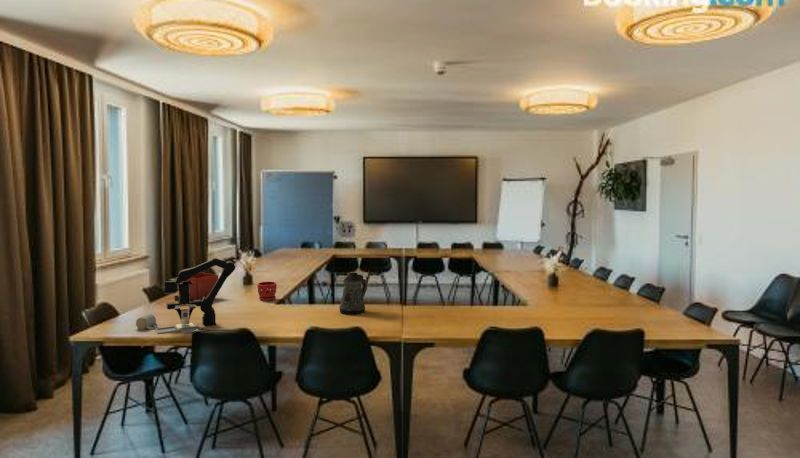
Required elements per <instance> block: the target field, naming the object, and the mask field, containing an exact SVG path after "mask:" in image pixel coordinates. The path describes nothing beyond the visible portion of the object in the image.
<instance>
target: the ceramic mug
mask: <svg viewBox="0 0 800 458" xmlns="http://www.w3.org/2000/svg"><path fill="white" fill-rule="evenodd" d="M135 326H136V328H137V329H138V330H147V329H148V330H156V329H155V328H159V327H158V323H157V319H156V317H155V315H154V314H152V313H145V315H142V316H140V317H139V318H136V320H135Z"/></svg>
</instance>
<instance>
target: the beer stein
mask: <svg viewBox="0 0 800 458" xmlns="http://www.w3.org/2000/svg"><path fill="white" fill-rule="evenodd" d="M342 281H343V289H342V295H341V300H340V304H339V307H338V308H339V312H340V315H341V314H342V315H345V316H358V315H357V314H359V315H362V313H363V314H364V313H365V312H366V305H365V301H364V297H365V295H366V292H367V290H368V283H367V280H366V278H364V276H363V275H361V274H358V273H357V272H350V273H349V275H347V276H346V277H345V278H344V279H343V280H342Z"/></svg>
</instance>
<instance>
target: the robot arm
mask: <svg viewBox="0 0 800 458" xmlns="http://www.w3.org/2000/svg"><path fill="white" fill-rule="evenodd" d="M213 267H219V268H221V273H220V275H219V276H218V280H217V282H216V283H215V285H214V286H213V288H212V290H211V291H210V293H209V295H208V296H207V297H206V298H205V297H203V299H202V300H193V301H191V299H190V288H189V284H193V282H191V281H190V280H189V281H186V280H188V279H190V278H191V277H193V276H194V275H195V274H197V273H203V272H204V271H205V270H208V269H211V268H213ZM235 270H236V265H235V264H234V262H232V261H231V260H228V261H226V260H223V259H220V258H217V257H213V258H212V259H209V260H207V261H205V262H203V263H200V264H198V265H195V266H194V267H189V268H188V267H187V268H185V269H181V270H180V271H179V272H178V274H177V278H176V279H175V280H173V281H170V280H169V281H165V280H164V289H163V290H164V294H166V295H167V294H176V292H178V295H174V296H173V297H174V298H173V299H174V301H173V302H166V304H165V307H166V310H175V311H176V312H177V314H178V316H179V319H180V321H181V309H182V308H180V307H187V306H188V310H189V320H190V319H191V316H192V313H193V311H194V309H196V307H199V309H200V311H201V312H202V317H201V319H202V320H201V321H202V322H201V323H202V325H204V326H208V327H209V326H215V325H217V322H216V311H215V310H216V309H215V308H214V307H213V304H214V300H215V299H216V297H217V295H218V293H219V292H220V290H221V288H222V286H224V283H225V282H226V280H227V279H228V277H230V276H231V275H232V273H233V272H234V271H235ZM182 281H183V283H181V282H182ZM175 302H177V303H175Z"/></svg>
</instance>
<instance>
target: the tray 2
mask: <svg viewBox="0 0 800 458" xmlns="http://www.w3.org/2000/svg"><path fill="white" fill-rule="evenodd" d="M196 329H202V328H201V326H199V325H197V326H196V325H194V327H185V328H179V331H180V332H181V334H183V335H185V334H193V333H192V332H193V331H194V330H196Z"/></svg>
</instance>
